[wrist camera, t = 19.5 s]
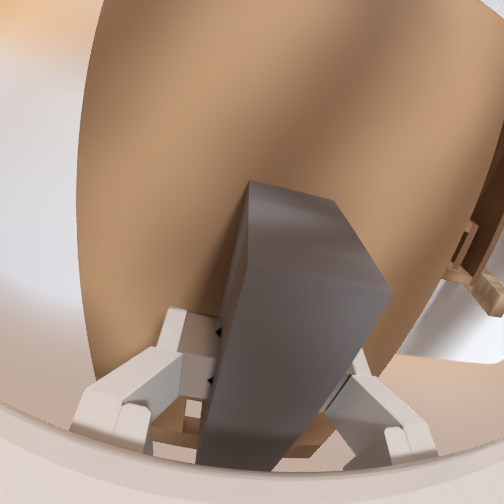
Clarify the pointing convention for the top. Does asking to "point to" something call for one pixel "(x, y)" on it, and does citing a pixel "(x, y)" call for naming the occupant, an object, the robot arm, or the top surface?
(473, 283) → the toolbox
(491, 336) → the top surface
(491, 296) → the pin
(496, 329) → the top surface
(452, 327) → the top surface
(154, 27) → the lid
